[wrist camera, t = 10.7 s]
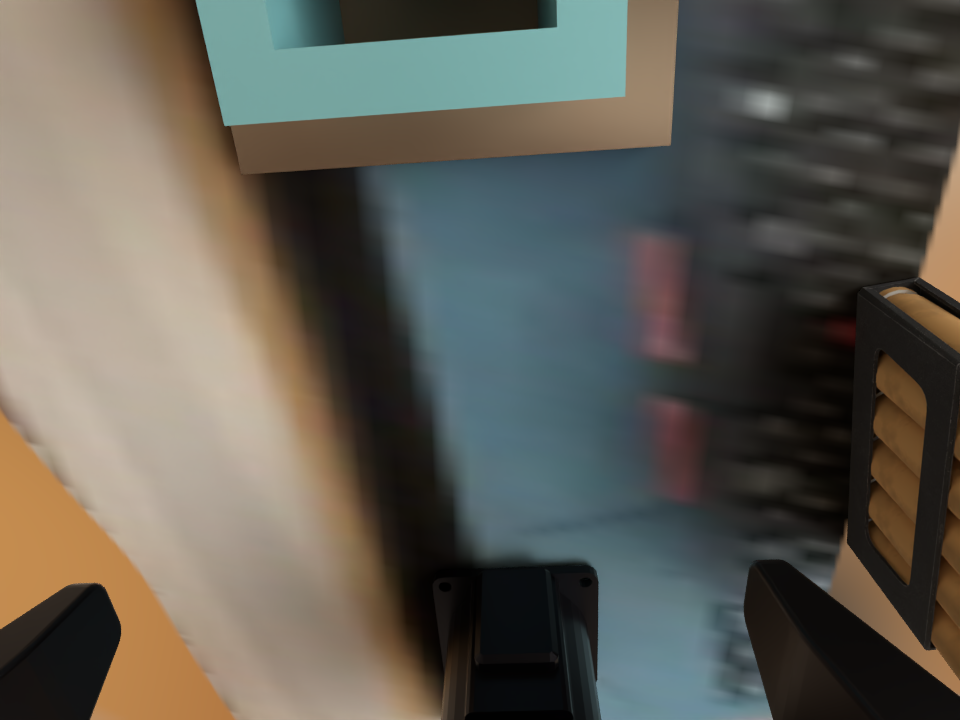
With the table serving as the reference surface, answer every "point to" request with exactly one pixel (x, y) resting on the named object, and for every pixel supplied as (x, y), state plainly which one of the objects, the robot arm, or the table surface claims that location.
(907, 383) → the ammunition clip
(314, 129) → the post base
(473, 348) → the table surface
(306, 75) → the collar
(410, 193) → the table surface
